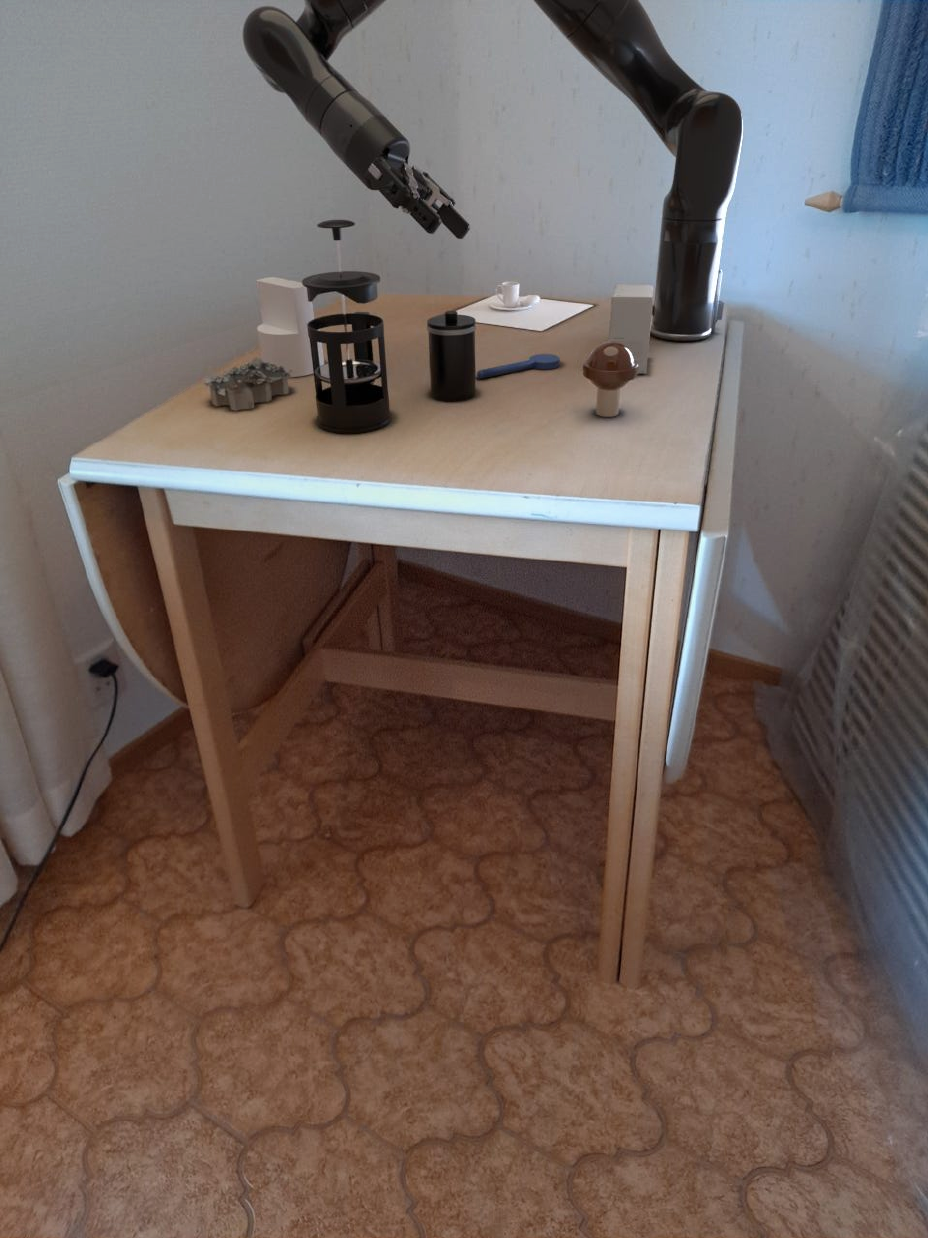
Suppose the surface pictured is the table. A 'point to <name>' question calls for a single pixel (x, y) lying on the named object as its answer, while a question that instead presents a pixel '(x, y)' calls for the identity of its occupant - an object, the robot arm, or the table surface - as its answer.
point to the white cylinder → (286, 325)
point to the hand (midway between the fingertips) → (451, 230)
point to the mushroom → (609, 374)
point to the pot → (452, 356)
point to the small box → (632, 320)
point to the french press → (352, 389)
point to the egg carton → (248, 385)
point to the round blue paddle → (522, 365)
